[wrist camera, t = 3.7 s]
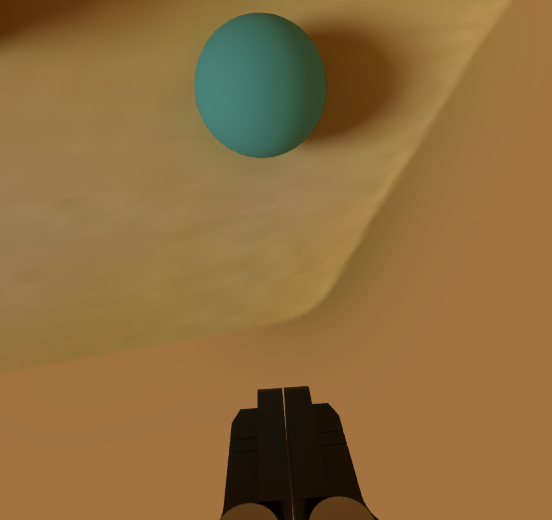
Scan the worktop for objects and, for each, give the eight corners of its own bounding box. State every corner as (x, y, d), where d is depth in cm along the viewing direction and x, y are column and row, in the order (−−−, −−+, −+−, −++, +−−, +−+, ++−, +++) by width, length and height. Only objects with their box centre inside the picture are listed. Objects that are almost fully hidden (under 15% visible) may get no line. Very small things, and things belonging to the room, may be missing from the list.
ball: (198, 35, 18) (172, -6, 12) (315, 30, 18) (338, -14, 13) (210, 157, 20) (192, 166, 14) (317, 151, 20) (338, 158, 14)
